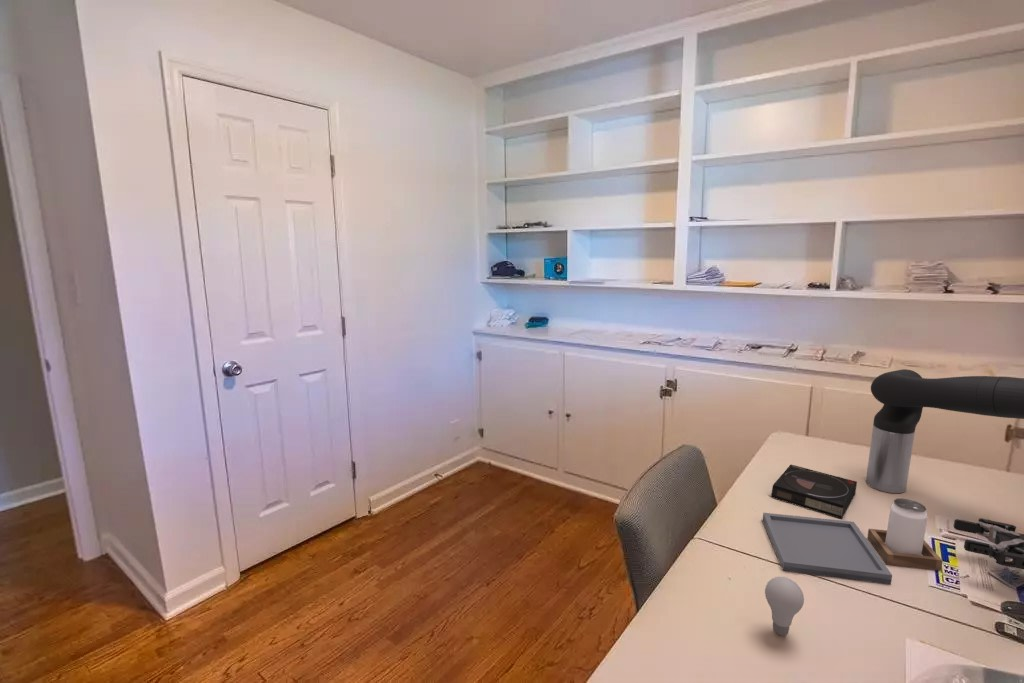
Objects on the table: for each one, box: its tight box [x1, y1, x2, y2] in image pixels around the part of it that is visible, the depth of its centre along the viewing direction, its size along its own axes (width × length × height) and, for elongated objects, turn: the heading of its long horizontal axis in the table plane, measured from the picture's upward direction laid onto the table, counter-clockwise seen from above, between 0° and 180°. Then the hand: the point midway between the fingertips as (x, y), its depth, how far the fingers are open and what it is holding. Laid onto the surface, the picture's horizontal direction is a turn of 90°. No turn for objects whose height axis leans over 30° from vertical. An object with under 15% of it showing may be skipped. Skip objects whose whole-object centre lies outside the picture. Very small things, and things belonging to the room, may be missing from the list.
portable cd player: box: [770, 464, 858, 520], centre depth 140 cm, size 16×17×4 cm
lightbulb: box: [764, 576, 805, 637], centre depth 92 cm, size 6×6×11 cm
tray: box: [762, 512, 893, 585], centre depth 117 cm, size 20×20×2 cm
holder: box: [867, 528, 944, 572], centre depth 115 cm, size 10×10×2 cm
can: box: [884, 497, 928, 556], centre depth 114 cm, size 6×6×12 cm
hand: (959, 534), depth 109 cm, fingers open, 8 cm apart
